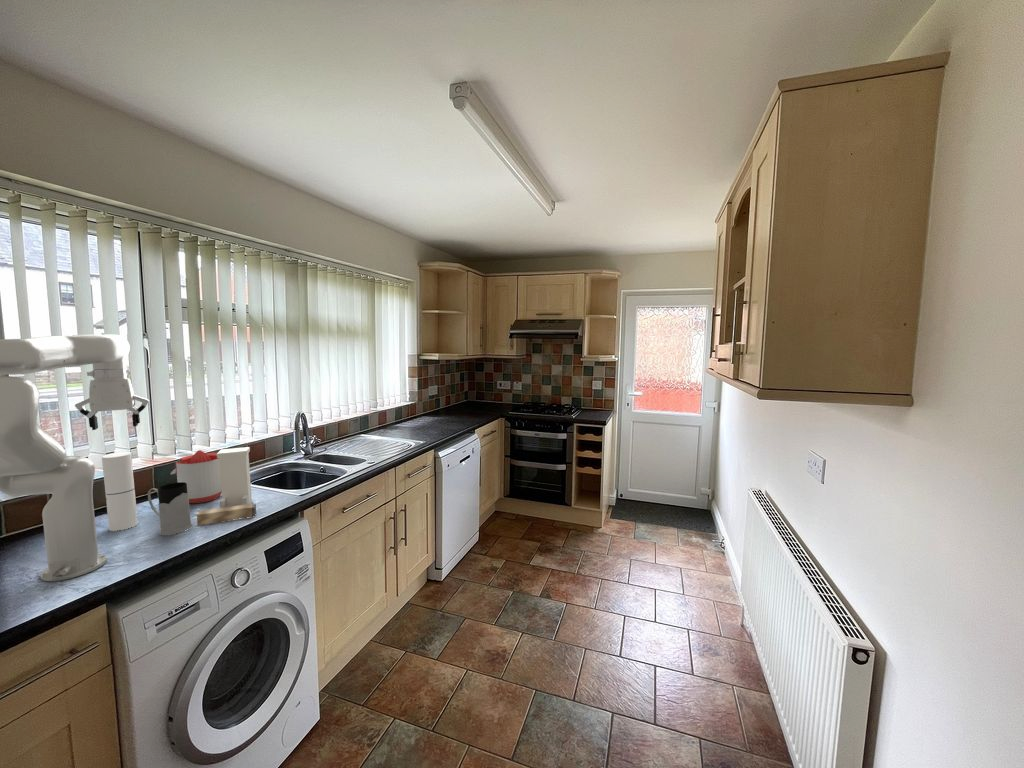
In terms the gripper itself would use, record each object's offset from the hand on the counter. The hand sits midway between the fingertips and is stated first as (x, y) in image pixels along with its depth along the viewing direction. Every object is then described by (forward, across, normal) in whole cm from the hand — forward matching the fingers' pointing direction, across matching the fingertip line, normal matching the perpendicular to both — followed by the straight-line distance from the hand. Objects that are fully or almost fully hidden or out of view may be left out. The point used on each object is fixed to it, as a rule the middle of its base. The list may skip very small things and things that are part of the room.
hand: (115, 427), depth 134 cm
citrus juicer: (+36, +18, +23) cm, 46 cm away
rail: (+35, +28, -7) cm, 45 cm away
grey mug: (+35, +12, -5) cm, 38 cm away
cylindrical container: (+35, -2, +6) cm, 36 cm away
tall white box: (+35, +31, +5) cm, 47 cm away
